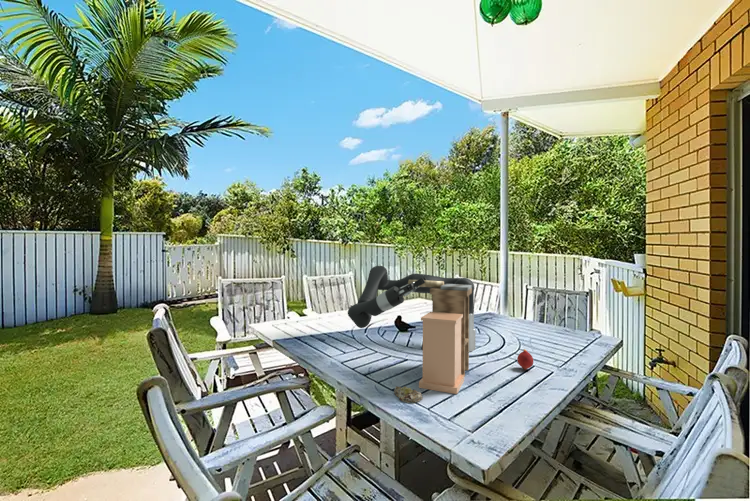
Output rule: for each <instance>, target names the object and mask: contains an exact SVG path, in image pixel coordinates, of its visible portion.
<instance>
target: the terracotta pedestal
mask: <svg viewBox="0 0 750 501" xmlns="http://www.w3.org/2000/svg"><path fill="white" fill-rule="evenodd" d="M462 317H463V314H454V313H441V312H432V311H429V312H428V313H426V314H424V315H422V316H421V317H420V321H421V322H422V377H421V379H420V380H419V381H418V388H419V389H424V390H432V391H436V392H441V393H449V394H455V395H458V394H459V392H460V390H461V387H462V385H463V384H464V382H465V377H464V375H461V318H462Z"/></svg>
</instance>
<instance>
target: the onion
mask: <svg viewBox="0 0 750 501" xmlns="http://www.w3.org/2000/svg"><path fill="white" fill-rule="evenodd" d="M516 361H517V363H518V365H519V366H520V367H521V368H522V369H523V370H525V371H526V370H529V369H530V368H531V367H533V365H534V358H533V355H532V353H530V352H529V351H527V349H525V348H524V349H523V351H521V352H520V353H519V354H518V355H517V358H516Z"/></svg>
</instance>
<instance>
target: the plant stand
mask: <svg viewBox="0 0 750 501" xmlns="http://www.w3.org/2000/svg"><path fill="white" fill-rule="evenodd" d="M471 293H472V288H471V289H470V290H468V291H461V290H444V289H441V288H435V287H434V288H432V289H430V293H429V295H432V298H431V299H432V301H431V303H432V304H431V306H432V308H431V309H432V310H431V312H441V313H454V314H463V317H462V318H461V375H464V378H465V377H466V371H467V372H468V371H469V369H470V368H469V367H470V363H469V362H470V352H469V295H470V294H471Z"/></svg>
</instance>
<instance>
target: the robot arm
mask: <svg viewBox="0 0 750 501" xmlns="http://www.w3.org/2000/svg"><path fill="white" fill-rule="evenodd" d="M388 276H389V272H388V270H387V268H386V267H385V266H383V265H375V266H373V267H371V269H370V270H369V274H368V278H367V281H366V284H365V286H364V289H363V291H362V293H361V295H360V297H359V299H358V300H357V302H356V303H355V304H353V305H351V306H350V307H349V308H348V310H347V316H348V317H349V318H350V320H351V321H352V322H353V323H354V324H355V326H356V327H358V328H359V329H365V328H366V327H368V326H369V324H370V322H371V320H372V316H373V317H378V316H379V315H381V314H383V313H385V312H387V311H389V310H392V309H394V308H395V307H398V306H399V305H401V304H403V303H404V301H405V297H406V296H409V295H411V293H419V294H430V289H432V288H434V287H418V286H420V285H422V284H424V283H425V281H424V280H428V281H444V284H461V285H472V293H471V294H470V295H469V353H470V352H473V351H474V350H476V335H477V334H476V331H477V330H476V328H475V307H474V306H475V305H474V303H475V302H474V300H475V299H474V297H475V294H474V293H475V284H474V282H473V281H472V279H470V278H468V277H443V276H436V275H433V274H432V275H431V274H425V273H411V274H408V275H405V276H404V277H402V278H401V279H397V280H396V279H395V280H394V279H393V280H392V279H389V277H388ZM409 280H417V281H416V282H415V283H414V282H412V283H410V284H408V281H409ZM378 291H383V292H382V293H380V294H378Z"/></svg>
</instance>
